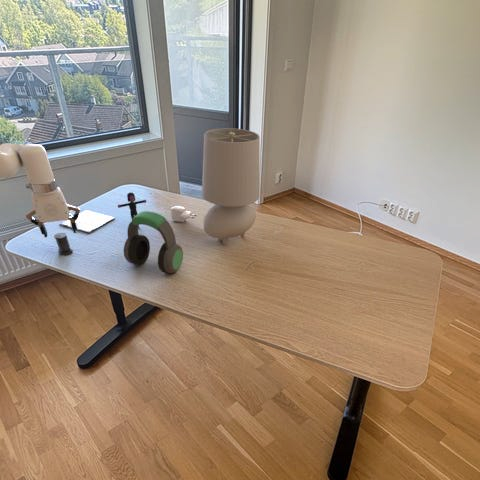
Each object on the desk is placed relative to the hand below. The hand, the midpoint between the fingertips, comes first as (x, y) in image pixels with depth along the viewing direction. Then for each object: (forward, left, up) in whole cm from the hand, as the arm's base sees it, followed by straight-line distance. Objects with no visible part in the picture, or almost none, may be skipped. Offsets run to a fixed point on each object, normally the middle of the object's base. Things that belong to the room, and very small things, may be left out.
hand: (60, 233), depth 125 cm
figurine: (+28, +13, -8) cm, 32 cm away
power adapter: (+49, +13, -8) cm, 51 cm away
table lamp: (+63, -9, -8) cm, 64 cm away
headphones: (+30, -20, -8) cm, 37 cm away
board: (+9, +24, -8) cm, 27 cm away
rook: (0, 0, -8) cm, 8 cm away
